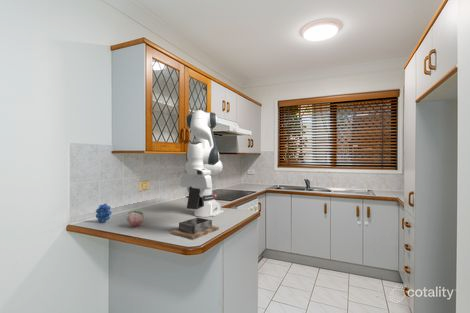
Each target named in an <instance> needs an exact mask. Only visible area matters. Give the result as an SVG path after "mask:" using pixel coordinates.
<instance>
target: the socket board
mask: <svg viewBox="0 0 470 313" xmlns="http://www.w3.org/2000/svg"><path fill="white" fill-rule="evenodd" d="M212 224H213V220H212V219H207V218H204V217H203V218H202V217H199V216H196V217H194V218H191V219H187V220H184V221H180V222H179V223H178V228H176V229H173V230H171V234H172V235H175V236H178V237H181V238H184V239H185V238H186V239H189V240H193V241H194V240H195V239H198V238H201V237H204V236H206V235H208V233H209V234H211V233H214V232H216V231H218V230H220V229H219V228H220V227H219V226H216V225H212ZM203 235H204V236H203Z"/></svg>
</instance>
